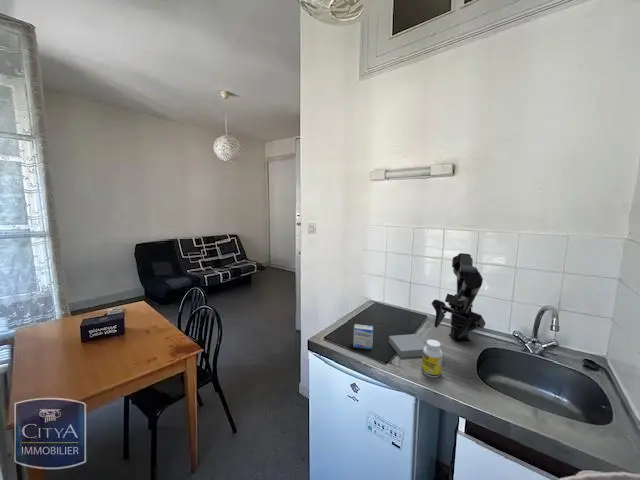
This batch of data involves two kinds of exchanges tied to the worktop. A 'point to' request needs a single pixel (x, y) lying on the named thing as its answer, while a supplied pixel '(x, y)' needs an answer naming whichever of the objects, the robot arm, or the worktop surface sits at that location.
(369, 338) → the medicine box
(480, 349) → the worktop surface
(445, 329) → the worktop surface
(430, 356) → the pill bottle
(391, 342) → the riser
